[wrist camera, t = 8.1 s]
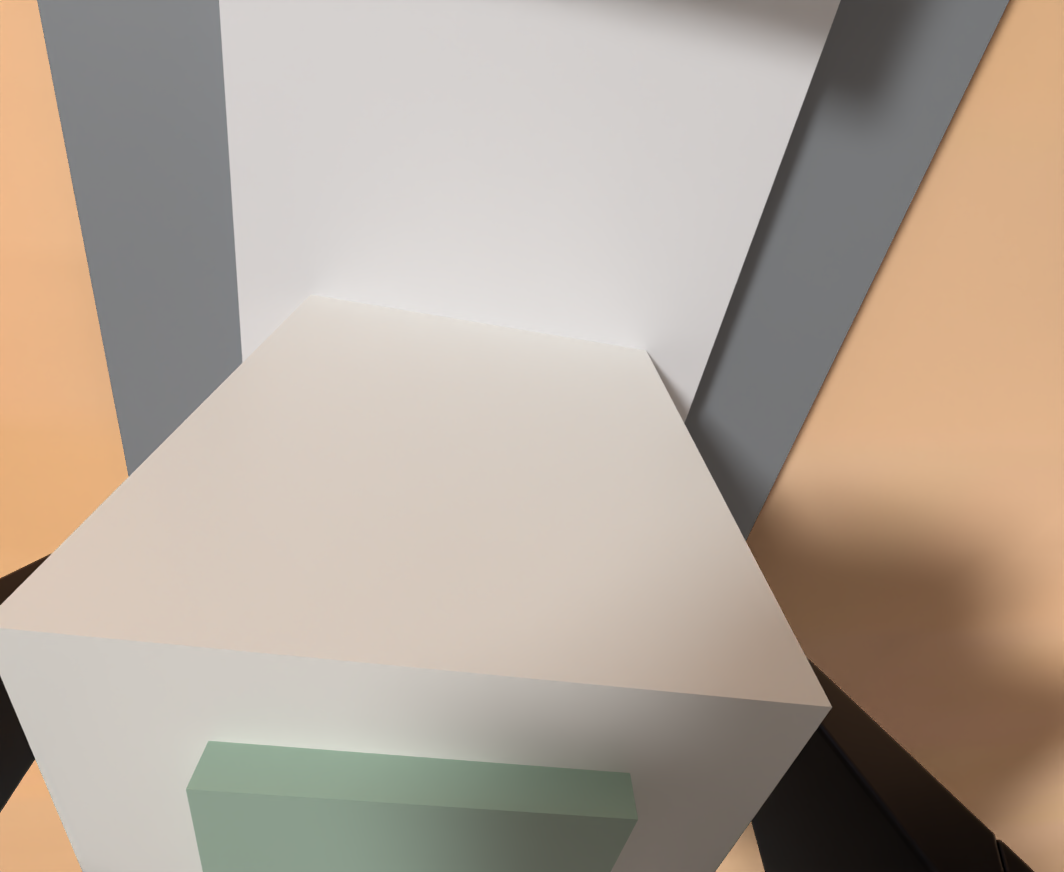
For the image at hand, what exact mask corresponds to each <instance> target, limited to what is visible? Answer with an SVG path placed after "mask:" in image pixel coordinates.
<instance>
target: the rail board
mask: <svg viewBox="0 0 1064 872" xmlns="http://www.w3.org/2000/svg"><path fill="white" fill-rule="evenodd" d="M37 1H38V7H39V12H40V17H41V22H42V28H43V33H44V38H45V43H46V48H47V54H48V59H49V64H50V69H51V74H52V80H53V85H54V90H55V95H56V100H57V106H58V111H59V116H60V121H61V126H62V132H63V137H64V142H65V147H66V153H67V158H68V163H69V168H70V173H71V179H72V184H73V189H74V194H75V199H76V205H77V210H78V215H79V220H80V225H81V231H82V236H83V241H84V246H85V252H86V257H87V262H88V267H89V272H90V278H91V283H92V288H93V293H94V298H95V304H96V309H97V314H98V319H99V324H100V330H101V335H102V340H103V345H104V350H105V356H106V361H107V366H108V371H109V377H110V382H111V387H112V392H113V397H114V403H115V408H116V413H117V418H118V423H119V429H120V434H121V439H122V444H123V449H124V455H125V460H126V465H127V470H128V476H130V475H131V474H132V473H133V472H134V471H135V470H136V469H137V468H138V467H139V466H140V465H141V464H142V463H143V462H144V461H145V460H146V459H147V458H148V457H149V456H150V455H151V454H152V453H153V452H154V451H155V450H156V449H157V448H158V447H159V446H160V445H161V444H162V443H163V442H164V441H165V440H166V439H167V438H168V437H169V436H170V435H171V434H172V433H173V432H174V431H175V430H176V429H177V428H178V427H179V426H180V425H181V424H182V423H183V422H184V421H185V420H186V419H187V418H188V417H189V416H190V415H191V414H192V413H193V412H194V411H195V410H196V409H197V408H198V407H199V406H200V405H201V404H202V403H203V402H204V401H205V400H206V399H207V398H208V397H209V396H210V395H211V394H212V393H213V392H214V391H215V390H216V389H217V388H218V387H219V386H220V385H221V384H222V383H223V382H224V381H225V380H226V379H227V378H228V377H229V376H230V375H231V374H232V373H233V372H234V371H235V370H236V369H237V368H238V367H239V366H240V365H241V364H242V363H243V362H244V361H245V360H246V359H247V358H248V357H249V356H250V355H251V354H252V353H253V352H254V351H255V350H256V349H257V348H258V347H259V346H260V345H261V344H262V343H263V342H264V341H265V340H266V339H267V338H268V337H269V336H270V335H271V334H272V333H273V332H274V331H275V330H276V329H277V328H278V327H279V326H280V325H281V324H282V323H283V322H284V321H285V320H286V319H287V318H288V317H289V316H290V315H291V314H292V313H293V312H294V311H295V310H296V309H297V308H298V307H299V306H300V305H301V304H302V303H303V302H304V301H305V300H306V299H307V298H308V297H309V296H310V295H317V296H323V297H329V298H335V299H340V300H346V301H352V302H358V303H364V304H370V305H376V306H382V307H388V308H394V309H400V310H406V311H412V312H418V313H424V314H430V315H436V316H442V317H448V318H454V319H460V320H466V321H472V322H478V323H484V324H490V325H496V326H502V327H508V328H514V329H520V330H526V331H532V332H538V333H544V334H550V335H556V336H562V337H568V338H574V339H580V340H586V341H592V342H598V343H604V344H610V345H616V346H622V347H628V348H634V349H640V350H646V351H647V353H648V355H649V357H650V359H651V361H652V363H653V365H654V367H655V368H656V370H657V372H658V374H659V376H660V378H661V380H662V382H663V384H664V386H665V388H666V390H667V391H668V393H669V395H670V397H671V399H672V401H673V403H674V405H675V407H676V409H677V411H678V413H679V414H680V416H681V418H682V420H683V422H684V424H685V426H686V428H687V430H688V432H689V434H690V435H691V437H692V439H693V441H694V443H695V445H696V447H697V449H698V451H699V453H700V455H701V457H702V458H703V460H704V462H705V464H706V466H707V468H708V470H709V472H710V474H711V476H712V478H713V480H714V481H715V483H716V485H717V487H718V489H719V491H720V493H721V495H722V497H723V499H724V501H725V503H726V504H727V506H728V508H729V510H730V512H731V514H732V516H733V518H734V520H735V522H736V524H737V526H738V527H739V529H740V531H741V533H742V535H743V537H744V539H745V541H746V540H747V538H748V536H749V533H750V531H751V529H752V527H753V525H754V523H755V521H756V519H757V517H758V515H759V513H760V511H761V509H762V507H763V505H764V503H765V501H766V499H767V497H768V495H769V492H770V490H771V488H772V486H773V484H774V482H775V480H776V478H777V476H778V474H779V472H780V470H781V468H782V466H783V464H784V462H785V460H786V458H787V456H788V453H789V451H790V449H791V447H792V445H793V443H794V441H795V439H796V437H797V435H798V433H799V431H800V429H801V427H802V425H803V423H804V421H805V419H806V417H807V415H808V412H809V410H810V408H811V406H812V404H813V402H814V400H815V398H816V396H817V394H818V392H819V390H820V388H821V386H822V384H823V382H824V380H825V378H826V376H827V373H828V371H829V369H830V367H831V365H832V363H833V361H834V359H835V357H836V355H837V353H838V351H839V349H840V347H841V345H842V343H843V341H844V339H845V337H846V335H847V332H848V330H849V328H850V326H851V324H852V322H853V320H854V318H855V316H856V314H857V312H858V310H859V308H860V306H861V304H862V302H863V300H864V298H865V296H866V293H867V291H868V289H869V287H870V285H871V283H872V281H873V279H874V277H875V275H876V273H877V271H878V269H879V267H880V265H881V263H882V261H883V259H884V257H885V255H886V252H887V250H888V248H889V246H890V244H891V242H892V240H893V238H894V236H895V234H896V232H897V230H898V228H899V226H900V224H901V222H902V220H903V218H904V216H905V213H906V211H907V209H908V207H909V205H910V203H911V201H912V199H913V197H914V195H915V193H916V191H917V189H918V187H919V185H920V183H921V181H922V179H923V177H924V175H925V172H926V170H927V168H928V166H929V164H930V162H931V160H932V158H933V156H934V154H935V152H936V150H937V148H938V146H939V144H940V142H941V140H942V138H943V136H944V133H945V131H946V129H947V127H948V125H949V123H950V121H951V119H952V117H953V115H954V113H955V111H956V109H957V107H958V105H959V103H960V101H961V99H962V97H963V95H964V92H965V90H966V88H967V86H968V84H969V82H970V80H971V78H972V76H973V74H974V72H975V70H976V68H977V66H978V64H979V62H980V60H981V58H982V56H983V54H984V51H985V49H986V47H987V45H988V43H989V41H990V39H991V37H992V35H993V33H994V31H995V29H996V27H997V25H998V23H999V21H1000V19H1001V17H1002V15H1003V12H1004V10H1005V8H1006V6H1007V4H1008V2H1009V0H37Z"/></svg>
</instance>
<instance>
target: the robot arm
mask: <svg viewBox="0 0 1064 872" xmlns="http://www.w3.org/2000/svg"><path fill="white" fill-rule="evenodd" d="M51 554H52V553H51ZM51 554H49V555H47V556H45V557H43V558H41V559H39V560H37V561H35V562H33V563H31V564H29V565H27V566H25V567H23V568H21V569H18V570H16V571H14V572H12V573H10V574H8V575H6V576H4V577H2V578H0V605H1V604H2V603H3V602H4V601H5V600H6V599H7V598H8V597H9V596H10V595H11V594H12V593H13V592H14V591H15V590H16V589H17V588H18V587H19V586H20V585H21V584H22V583H23V582H24V581H25V580H26V579H27V578H28V577H29V576H30V575H31V574H32V573H33V572H34V571H35V570H36V569H37V568H38V567H39V566H40V565H41V564H42V563H43V562H44V561H45V560H46V559H47V558H48V557H49V556H50V555H51ZM806 658H807V657H806ZM807 660H808V662H809V664H810V665H811V667H812V669H813V671H814V673H815V675H816V677H817V679H818V681H819V683H820V685H821V687H822V688H823V690H824V692H825V694H826V696H827V698H828V700H829V702H830V704H831V706H832V708H831V710H830V711H829V712H828V714H827V715H826V717H825V718H824V719H823V721H822V722H821V724H820V725H819V726H818V728H817V729H816V731H815V732H814V733H813V735H812V736H811V738H810V739H809V740H808V742H807V743H806V745H805V746H804V748H803V749H802V750H801V752H800V753H799V755H798V756H797V757H796V759H795V760H794V762H793V763H792V764H791V766H790V767H789V769H788V770H787V771H786V773H785V774H784V776H783V777H782V778H781V780H780V781H779V783H778V784H777V785H776V787H775V788H774V790H773V791H772V793H771V794H770V795H769V797H768V798H767V800H766V801H765V802H764V804H763V805H762V807H761V808H760V809H759V811H758V812H757V814H756V815H755V816H754V818H753V819H752V821H751V822H752V826H753V829H754V833H755V837H756V840H757V844H758V848H759V851H760V855H761V859H762V862H763V866H764V870H765V872H1034V871H1033V870H1032V869H1031V868H1030V867H1029V866H1028V865H1027V864H1026V863H1025V862H1024V861H1023V860H1022V859H1020V858H1019V857H1018V856H1017V855H1016V854H1015V853H1014V852H1013V851H1012V850H1011V849H1010V848H1009V847H1008V846H1007V845H1006V844H1005V843H1004V842H1002V841H1001V840H996V837H995V835H994V833H993V832H992V831H991V830H989V829H988V828H987V827H986V826H985V825H984V824H983V823H982V822H981V821H980V820H979V819H978V818H977V817H976V816H975V815H974V814H973V813H971V812H970V811H969V810H968V809H967V808H966V807H965V806H964V805H963V804H962V803H961V802H960V801H959V800H958V799H957V798H956V797H954V796H953V795H952V794H951V793H950V792H949V791H948V790H947V789H946V788H945V787H944V786H943V785H942V784H941V783H940V782H939V781H937V780H936V779H935V778H934V777H933V776H932V775H931V774H930V773H929V772H928V771H927V770H926V769H925V768H924V767H923V766H922V765H921V764H919V763H918V762H917V761H916V760H915V759H914V758H913V757H912V756H911V755H910V754H909V753H908V752H907V751H906V750H905V749H904V748H902V747H901V746H900V745H899V744H898V743H897V742H896V741H895V740H894V739H893V738H892V737H891V736H890V735H889V734H888V733H887V732H885V731H884V730H883V729H882V728H881V727H880V726H879V725H878V724H877V723H876V722H875V721H874V720H873V719H872V718H871V717H870V716H869V715H867V714H866V713H865V712H864V711H863V710H862V709H861V708H860V707H859V706H858V705H857V704H856V703H855V702H854V701H853V700H852V699H850V698H849V697H848V696H847V695H846V694H845V693H844V692H843V691H842V690H841V689H840V688H839V687H838V686H837V685H836V684H835V683H833V682H832V681H831V680H830V679H829V678H828V677H827V676H826V675H825V674H824V673H823V672H822V671H821V670H820V669H819V668H818V667H817V666H815V665H814V664H813V663H812V662H811V661H810V660H809V659H808V658H807ZM34 760H35V757H34V755H33V752H32V750H31V748H30V745H29V743H28V741H27V738H26V736H25V733H24V731H23V729H22V726H21V724H20V721H19V719H18V717H17V714H16V712H15V710H14V707H13V705H12V702H11V700H10V698H9V695H8V693H7V691H6V688H5V686H4V683H3V681H2V679H1V676H0V812H1V811H2V809H3V808H4V806H5V804H6V803H7V801H8V800H9V798H10V797H11V795H12V794H13V792H14V791H15V789H16V788H17V786H18V785H19V783H20V781H21V780H22V778H23V777H24V775H25V774H26V772H27V771H28V769H29V768H30V766H31V765H32V763H33V761H34Z"/></svg>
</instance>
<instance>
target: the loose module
mask: <svg viewBox="0 0 1064 872" xmlns="http://www.w3.org/2000/svg"><path fill="white" fill-rule="evenodd" d="M0 676H1V679H2V681H3V683H4V686H5V688H6V691H7V693H8V695H9V698H10V700H11V702H12V705H13V707H14V710H15V712H16V714H17V717H18V719H19V721H20V724H21V726H22V729H23V731H24V733H25V736H26V738H27V741H28V743H29V745H30V748H31V750H32V752H33V755H34V757H35V760H36V762H37V764H38V767H39V769H40V771H41V774H42V776H43V779H44V781H45V783H46V786H47V788H48V790H49V793H50V795H51V798H52V800H53V802H54V805H55V807H56V810H57V812H58V814H59V817H60V819H61V821H62V824H63V826H64V829H65V831H66V833H67V836H68V838H69V840H70V843H71V845H72V848H73V850H74V852H75V855H76V857H77V859H78V862H79V864H80V867H81V869H82V871H83V872H715V871H716V870H717V868H718V867H719V866H720V864H721V863H722V861H723V860H724V859H725V857H726V856H727V854H728V853H729V852H730V850H731V849H732V847H733V846H734V845H735V843H736V842H737V840H738V839H739V837H740V836H741V835H742V833H743V832H744V830H745V829H746V828H747V826H748V825H749V823H750V822H751V821H752V819H753V818H754V816H755V815H756V814H757V812H758V811H759V809H760V808H761V807H762V805H763V804H764V802H765V801H766V800H767V798H768V797H769V795H770V794H771V793H772V791H773V790H774V788H775V787H776V785H777V784H778V783H779V781H780V780H781V778H782V777H783V776H784V774H785V773H786V771H787V770H788V769H789V767H790V766H791V764H792V763H793V762H794V760H795V759H796V757H797V756H798V755H799V753H800V752H801V750H802V749H803V748H804V746H805V745H806V743H807V742H808V740H809V739H810V738H811V736H812V735H813V733H814V732H815V731H816V729H817V728H818V726H819V725H820V724H821V722H822V721H823V719H824V718H825V717H826V715H827V714H828V712H829V711H830V710H831V708H832V706H831V704H830V702H829V700H828V698H827V696H826V694H825V692H824V690H823V688H822V687H821V685H820V683H819V681H818V679H817V677H816V675H815V673H814V671H813V669H812V667H811V665H810V664H809V662H808V660H807V658H806V656H805V654H804V652H803V650H802V648H801V646H800V644H799V642H798V641H797V639H796V637H795V635H794V633H793V631H792V629H791V627H790V625H789V623H788V621H787V619H786V618H785V616H784V614H783V612H782V610H781V608H780V606H779V604H778V602H777V600H776V598H775V596H774V595H773V593H772V591H771V589H770V587H769V585H768V583H767V581H766V579H765V577H764V575H763V573H762V572H761V570H760V568H759V566H758V564H757V562H756V560H755V558H754V556H753V554H752V552H751V550H750V549H749V547H748V545H747V543H746V541H745V539H744V537H743V535H742V533H741V531H740V529H739V527H738V526H737V524H736V522H735V520H734V518H733V516H732V514H731V512H730V510H729V508H728V506H727V504H726V503H725V501H724V499H723V497H722V495H721V493H720V491H719V489H718V487H717V485H716V483H715V481H714V480H713V478H712V476H711V474H710V472H709V470H708V468H707V466H706V464H705V462H704V460H703V458H702V457H701V455H700V453H699V451H698V449H697V447H696V445H695V443H694V441H693V439H692V437H691V435H690V434H689V432H688V430H687V428H686V426H685V424H684V422H683V420H682V418H681V416H680V414H679V413H678V411H677V409H676V407H675V405H674V403H673V401H672V399H671V397H670V395H669V393H668V391H667V390H666V388H665V386H664V384H663V382H662V380H661V378H660V376H659V374H658V372H657V370H656V368H655V367H654V365H653V363H652V361H651V359H650V357H649V355H648V353H647V351H646V350H640V349H634V348H628V347H622V346H616V345H610V344H604V343H598V342H592V341H586V340H580V339H574V338H568V337H562V336H556V335H550V334H544V333H538V332H532V331H526V330H520V329H514V328H508V327H502V326H496V325H490V324H484V323H478V322H472V321H466V320H460V319H454V318H448V317H442V316H436V315H430V314H424V313H418V312H412V311H406V310H400V309H394V308H388V307H382V306H376V305H370V304H364V303H358V302H352V301H346V300H340V299H335V298H329V297H323V296H317V295H310V296H309V297H308V298H307V299H306V300H305V301H304V302H303V303H302V304H301V305H300V306H299V307H298V308H297V309H296V310H295V311H294V312H293V313H292V314H291V315H290V316H289V317H288V318H287V319H286V320H285V321H284V322H283V323H282V324H281V325H280V326H279V327H278V328H277V329H276V330H275V331H274V332H273V333H272V334H271V335H270V336H269V337H268V338H267V339H266V340H265V341H264V342H263V343H262V344H261V345H260V346H259V347H258V348H257V349H256V350H255V351H254V352H253V353H252V354H251V355H250V356H249V357H248V358H247V359H246V360H245V361H244V362H243V363H242V364H241V365H240V366H239V367H238V368H237V369H236V370H235V371H234V372H233V373H232V374H231V375H230V376H229V377H228V378H227V379H226V380H225V381H224V382H223V383H222V384H221V385H220V386H219V387H218V388H217V389H216V390H215V391H214V392H213V393H212V394H211V395H210V396H209V397H208V398H207V399H206V400H205V401H204V402H203V403H202V404H201V405H200V406H199V407H198V408H197V409H196V410H195V411H194V412H193V413H192V414H191V415H190V416H189V417H188V418H187V419H186V420H185V421H184V422H183V423H182V424H181V425H180V426H179V427H178V428H177V429H176V430H175V431H174V432H173V433H172V434H171V435H170V436H169V437H168V438H167V439H166V440H165V441H164V442H163V443H162V444H161V445H160V446H159V447H158V448H157V449H156V450H155V451H154V452H153V453H152V454H151V455H150V456H149V457H148V458H147V459H146V460H145V461H144V462H143V463H142V464H141V465H140V466H139V467H138V468H137V469H136V470H135V471H134V472H133V473H132V474H131V475H130V476H129V477H128V478H127V479H126V480H125V481H124V482H123V483H122V484H121V485H120V486H119V487H118V488H117V489H116V490H115V491H114V492H113V493H112V494H111V495H110V496H109V497H108V498H107V499H106V500H105V501H104V502H103V503H102V504H101V505H100V506H99V507H98V508H97V509H96V510H95V511H94V512H93V513H92V514H91V515H90V516H89V517H88V518H87V519H86V520H85V521H84V522H83V523H82V524H81V525H80V526H79V527H78V528H77V529H76V530H75V531H74V532H73V533H72V534H71V535H70V536H69V537H68V538H67V539H66V540H65V541H64V542H63V543H62V544H61V545H60V546H59V547H58V548H57V549H56V550H55V551H54V552H53V553H52V554H51V555H50V556H49V557H48V558H47V559H46V560H45V561H44V562H43V563H42V564H41V565H40V566H39V567H38V568H37V569H36V570H35V571H34V572H33V573H32V574H31V575H30V576H29V577H28V578H27V579H26V580H25V581H24V582H23V583H22V584H21V585H20V586H19V587H18V588H17V589H16V590H15V591H14V592H13V593H12V594H11V595H10V596H9V597H8V598H7V599H6V600H5V601H4V602H3V603H2V604H1V605H0Z"/></svg>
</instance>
